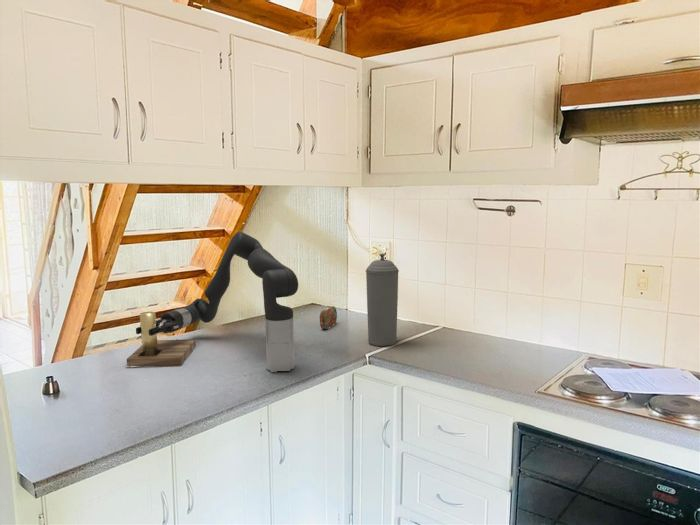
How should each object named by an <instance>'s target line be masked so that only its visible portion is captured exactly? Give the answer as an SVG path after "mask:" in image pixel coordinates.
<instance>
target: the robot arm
mask: <svg viewBox="0 0 700 525" xmlns="http://www.w3.org/2000/svg"><path fill="white" fill-rule="evenodd" d="M234 256H237V257H239V258H241V259H243V260H246V261H247V266H248V268H249V269H250V271H251V272H252V273H253V274H254V275H255V276H256V277H257V278H259V279H260V278H261V279H262V282H261V284H262V293H263V294H262V295H263V308H264V321H265V322H264V323H265V348H266V349H265V353H266V354H265V355H266V359H265V360H266V370H267V369H268V371H269V370H270V373H278V372H277V371H289V372H290V371H292V370H293V369H295V336H294V335H295V334H294V333H295V332H294V310H293V309H292V308H291V307H290V306H286V305H282V304H279V303H278V302H277V299H278V298H279V299H280V298H287V297H293V295H295V294H296V293H297V292H298V290H299V281H298V277H297V274H296V273H295V272H294V271H293V270H292V269H291V268H290V267H288V266H286V265H284V264H283V263H282V262H280V261H279V260H278V259H276V258H275V257H274V256H273V255H272V253H270V252H269V250H267V249H265V248H264V247H263V246H262V244H261V243H260V241H259V240H257V239H256V238H254V237H253V236H250V235H249V234H247V233H245V232H243V231H237V232H235V233H234V234H233V236H232V238H231V239H230V241H229V242H228V245H227V247H226V249H225V252H223V256H222V258H221V260H220V263H219V265H218V267H217V270H216V271H215V274H214V275H213V277H212V279H211V280H210V282H209V284H208V285H207V287H206V289H205V290H204V296H205V297H206V298H207V300H208V302H207V301H206V300H205V299H204V298H195V299H194V300H193V301H192V302H191V303H190V304H189V305H187V306H185V307H182V308H177V309H174V310H171V311H168V312H165V313H163V314H162V315H161V317H160V318H158V319H156V327H154V328H152V329H149V335H150V336H152V335H155V334H162V333H163V334H167V333H168V334H169V333H170V334H172V333H174V332H177V331H179V330H182V329H184V328H186V327H189V326H190V325H192V324H195V323H196V322H198V321H199V320H200V321H202V322H203V323H210V322H212V321H213V320H215V318H216V315H217V313H218V309H219V306H220V303H221V300H222V298H223V297H224V295H225V293H226V292H227V290H228V288H229V286H230V283H231V262H232V260H233V258H234ZM139 325H140V326H138V327H136V329H135V334H137V335H141V324H139ZM291 369H292V370H291Z"/></svg>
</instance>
